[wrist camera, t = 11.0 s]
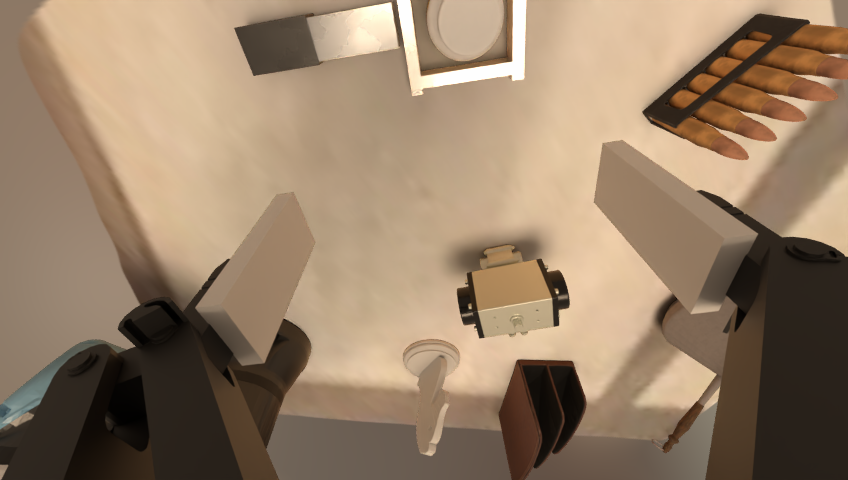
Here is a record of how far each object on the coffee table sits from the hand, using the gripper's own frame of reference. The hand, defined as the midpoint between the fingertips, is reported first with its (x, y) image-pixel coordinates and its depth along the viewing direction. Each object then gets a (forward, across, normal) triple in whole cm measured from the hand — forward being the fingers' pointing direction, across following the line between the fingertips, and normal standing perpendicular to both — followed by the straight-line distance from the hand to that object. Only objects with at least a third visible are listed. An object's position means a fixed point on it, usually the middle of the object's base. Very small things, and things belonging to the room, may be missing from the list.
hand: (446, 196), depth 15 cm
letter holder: (+23, +11, -57) cm, 62 cm away
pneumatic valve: (+22, +6, -22) cm, 32 cm away
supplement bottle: (+22, +3, +6) cm, 23 cm away
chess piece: (+23, -6, -43) cm, 49 cm away
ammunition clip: (+22, +25, -3) cm, 33 cm away
